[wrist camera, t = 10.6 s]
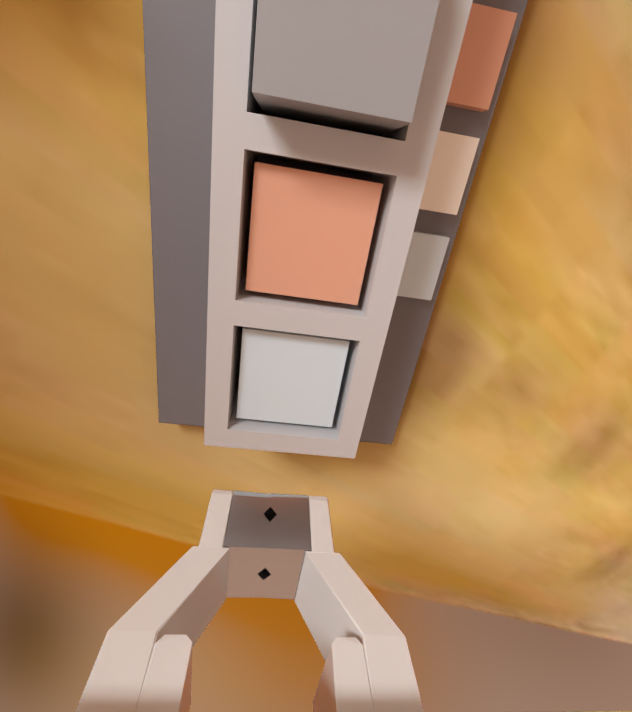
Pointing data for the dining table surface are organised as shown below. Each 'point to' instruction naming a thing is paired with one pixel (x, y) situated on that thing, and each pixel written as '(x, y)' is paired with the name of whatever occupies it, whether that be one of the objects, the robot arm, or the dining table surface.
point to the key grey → (342, 60)
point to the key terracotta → (310, 233)
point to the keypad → (316, 154)
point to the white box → (290, 376)
